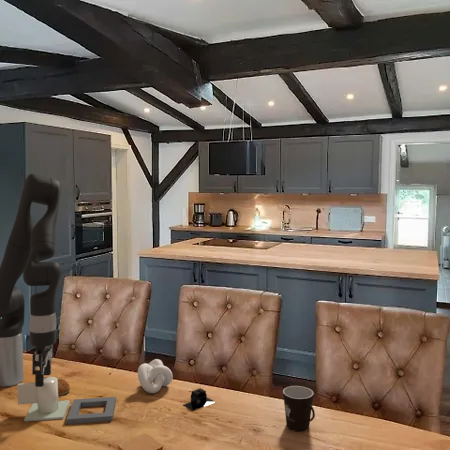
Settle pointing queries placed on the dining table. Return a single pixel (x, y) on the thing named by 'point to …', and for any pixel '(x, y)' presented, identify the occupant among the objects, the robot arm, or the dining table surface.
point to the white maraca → (40, 395)
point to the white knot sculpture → (154, 376)
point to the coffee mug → (298, 407)
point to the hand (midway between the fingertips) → (43, 380)
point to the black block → (198, 400)
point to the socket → (94, 417)
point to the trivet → (58, 414)
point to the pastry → (62, 386)
